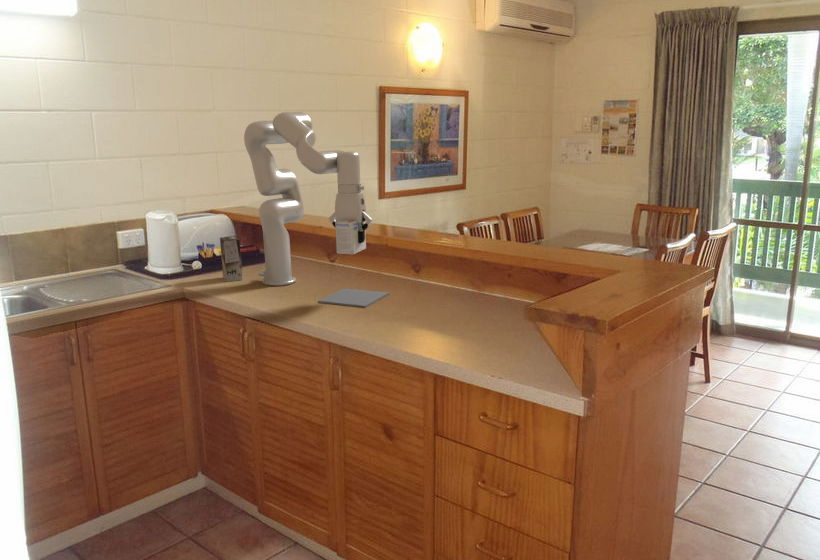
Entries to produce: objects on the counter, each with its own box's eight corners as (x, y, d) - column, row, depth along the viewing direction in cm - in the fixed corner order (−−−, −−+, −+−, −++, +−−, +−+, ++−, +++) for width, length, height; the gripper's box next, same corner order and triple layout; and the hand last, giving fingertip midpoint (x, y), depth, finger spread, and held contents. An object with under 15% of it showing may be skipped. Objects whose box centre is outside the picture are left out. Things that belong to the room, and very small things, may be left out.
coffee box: (243, 280, 265) (240, 239, 261) (226, 281, 263) (223, 240, 259) (238, 275, 273) (235, 235, 270) (222, 277, 271) (219, 237, 267)
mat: (318, 302, 232) (318, 300, 232) (343, 289, 248) (343, 288, 248) (365, 307, 225) (365, 305, 225) (388, 294, 241) (388, 292, 241)
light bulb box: (349, 247, 238) (347, 217, 236) (366, 248, 236) (365, 217, 234) (335, 253, 228) (334, 221, 226) (354, 254, 226) (353, 222, 224)
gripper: (377, 188, 227) (379, 241, 232) (332, 187, 234) (334, 238, 238) (367, 191, 221) (369, 245, 225) (320, 189, 227) (323, 242, 232)
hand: (351, 241), depth 232 cm, fingers closed on light bulb box, 7 cm apart
